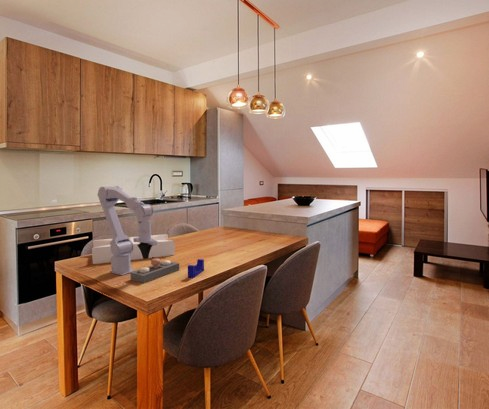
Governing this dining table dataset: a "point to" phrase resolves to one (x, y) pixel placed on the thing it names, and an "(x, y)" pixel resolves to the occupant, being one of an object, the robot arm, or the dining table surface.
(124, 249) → the robot arm
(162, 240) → the building model
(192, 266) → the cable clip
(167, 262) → the knob far
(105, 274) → the dining table surface
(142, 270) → the knob near
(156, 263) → the knob middle
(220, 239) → the dining table surface
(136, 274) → the mount
